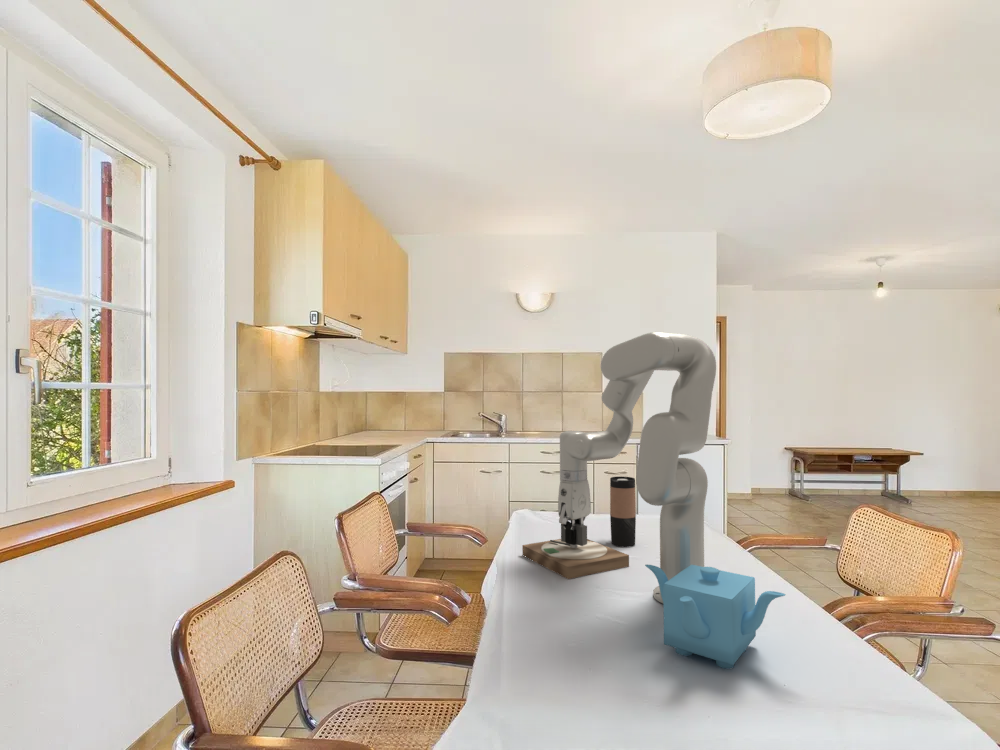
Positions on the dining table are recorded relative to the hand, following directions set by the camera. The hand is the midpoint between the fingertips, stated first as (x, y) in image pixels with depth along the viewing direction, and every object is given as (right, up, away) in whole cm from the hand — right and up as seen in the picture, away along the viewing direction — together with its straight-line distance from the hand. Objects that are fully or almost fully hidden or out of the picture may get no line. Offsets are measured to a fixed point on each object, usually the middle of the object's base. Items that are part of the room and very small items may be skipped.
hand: (573, 542), depth 150 cm
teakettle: (+17, -4, -52) cm, 55 cm away
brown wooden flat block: (0, -5, 0) cm, 5 cm away
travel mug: (+17, -6, +16) cm, 24 cm away
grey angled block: (-2, -1, +1) cm, 3 cm away
